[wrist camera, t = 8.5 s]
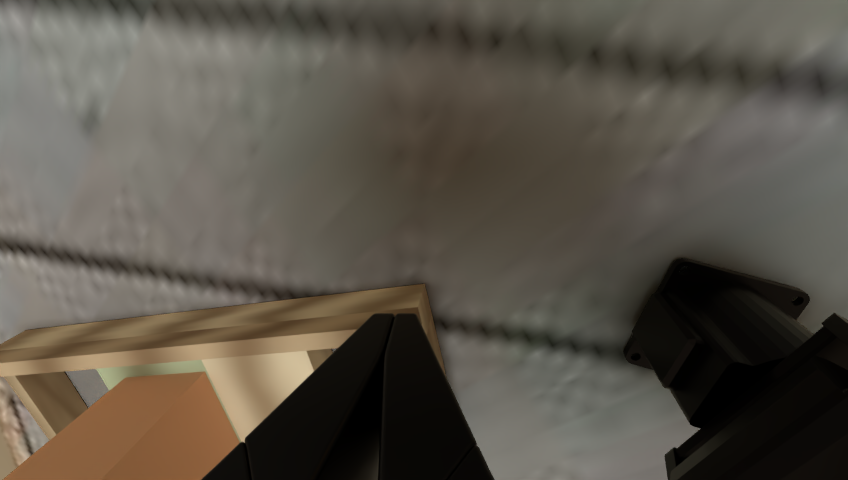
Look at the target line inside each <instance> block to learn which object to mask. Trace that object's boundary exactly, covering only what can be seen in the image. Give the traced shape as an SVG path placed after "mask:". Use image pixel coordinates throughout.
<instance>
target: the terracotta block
mask: <svg viewBox="0 0 848 480" xmlns="http://www.w3.org/2000/svg"><path fill="white" fill-rule="evenodd" d="M239 443H240V442H239V440H238V438H237V435H236V433H235V431H234V429H233V427H232V425H231V423H230V421H229V419H228V417H227V415H226V413H225V411H224V409H223V407H222V405H221V403H220V401H219V399H218V397H217V395H216V393H215V391H214V389H213V387H212V385H211V383H210V381H209V379H208V377H207V375H206V373H205V371H204V372H191V373H178V374H164V375H151V376H138V377H125V378H124V379H123V380H122V381H121V382H119V383H118V384H117V385H116V386H115V387H113V388H112V389H111V390H110V391H109V392H107V393H106V394H105V395H104V396H103V397H101V398H100V399H99V400H98V401H97V402H95V403H94V404H93V405H92V406H91V407H89V408H88V409H87V410H86V411H85V412H83V413H82V414H81V415H80V416H79V417H77V418H76V419H75V420H74V421H73V422H71V423H70V424H69V425H68V426H67V427H65V428H64V429H63V430H62V431H60V432H59V433H58V434H57V435H56V436H54V437H53V438H52V439H51V440H50V441H48V442H47V443H46V444H45V445H44V446H42V447H41V448H40V449H39V450H38V451H36V452H35V453H34V454H33V455H32V456H30V457H29V458H28V459H27V460H26V461H24V462H23V463H22V464H21V465H20V466H18V467H17V468H16V469H15V470H14V471H12V472H11V473H10V474H9V475H8V476H7V477H5V478H4V479H3V480H201V479H202V478H203V477H204V476H205V475H206V474H207V473H208V472H209V471H211V470H212V469H213V468H214V467H215V466H216V465H217V464H218V463H219V462H220V461H221V460H222V459H223V458H224V457H225V456H226V455H228V454H229V453H230V452H231V451H232V450H233V449H234V448H235V447H236V446H237V445H238V444H239Z"/></svg>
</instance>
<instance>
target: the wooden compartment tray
mask: <svg viewBox="0 0 848 480" xmlns="http://www.w3.org/2000/svg"><path fill="white" fill-rule="evenodd" d="M375 313H393V314H394V316H395V315H396V314H398V313H415V314H416V315H417V316H418V318H419V320H420V322H421V325H422V327H423V329H424V331H425V333H426V335H427V337H428V340H429V342H430V344H431V346H432V348H433V350H434V352H435V355H436V357H437V359H438V361H439V363H440V365H441V368H442V370H443V372H444V374H445V376H446V373H445V369H444V364H443V360H442V356H441V351H440V347H439V343H438V338H437V334H436V330H435V325H434V321H433V317H432V312H431V308H430V304H429V299H428V295H427V291H426V286H425V284H418V285H409V286H401V287H392V288H384V289H375V290H366V291H358V292H349V293H341V294H332V295H324V296H315V297H306V298H298V299H289V300H281V301H272V302H264V303H255V304H246V305H238V306H229V307H221V308H212V309H204V310H195V311H186V312H178V313H169V314H161V315H152V316H144V317H135V318H126V319H118V320H109V321H101V322H92V323H84V324H75V325H66V326H58V327H49V328H41V329H32V330H25V331H24V332H22V333H20V334H18V335H16V336H15V337H13V338H11V339H9V340H7V341H5V342H4V343H2V344H0V377H4V378H5V379H6V380H7V382H8V383H9V385H10V386H11V387H12V389H13V390H14V392H15V393H16V394H17V396H18V397H19V399H20V400H21V401H22V403H23V404H24V405H25V407H26V408H27V410H28V411H29V412H30V414H31V415H32V417H33V418H34V419H35V421H36V422H37V424H38V425H39V426H40V428H41V429H42V431H43V432H44V433H45V435H46V436H47V437H48V439H49V440H51V439H52V438H53V437H54V436H56V435H57V434H58V433H59V432H60V431H62V430H63V429H64V428H65V427H67V426H68V425H69V424H70V423H71V422H73V421H74V420H75V419H76V418H77V417H79V416H80V415H81V414H82V413H83V412H85V411H86V410H87V409H88V408H87V406H86V405H85V403H84V402H83V400H82V398H81V397H80V395H79V394H78V392H77V391H76V389H75V388H74V386H73V385H72V383H71V381H70V380H69V378H68V377H67V375H66V374H65V372H64V371H75V370H87V369H96V370H97V371H98V373H99V374H100V376H101V378H102V379H103V381H104V383H105V384H106V386H107V388H108V389H109V391H110V390H111V389H112V388H113V387H115V386H116V385H117V384H118V383H119V382H121V381H122V380H123V379H124V378H125V377H138V376H151V375H164V374H178V373H191V372H204V371H205V373H206V375H207V377H208V379H209V381H210V383H211V385H212V387H213V389H214V391H215V393H216V395H217V397H218V399H219V401H220V403H221V405H222V407H223V409H224V411H225V413H226V415H227V417H228V419H229V421H230V423H231V425H232V427H233V429H234V431H235V433H236V435H237V438H238V440H239V442H244V443H245V437H246V436H247V435H248V434H249V433H251V432H252V431H253V430H254V429H255V428H256V427H257V426H258V425H259V424H260V423H261V422H262V421H263V420H264V419H265V418H266V417H267V416H268V415H269V414H270V413H271V412H272V411H273V410H274V409H275V408H276V407H277V406H278V405H279V404H281V403H282V402H283V401H284V400H285V399H286V398H287V397H288V396H289V395H290V394H291V393H292V392H293V391H294V390H295V389H296V388H297V387H298V386H299V385H300V384H301V383H302V382H303V381H304V380H305V379H306V378H307V377H308V376H309V375H311V374H312V373H313V372H314V371H315V370H316V369H317V368H318V367H319V366H320V365H321V364H322V363H323V362H324V361H325V360H326V359H327V358H328V357H329V356H330V355H331V354H332V350H331V349H332V348H338V347H339V346H341V345H342V344H343V343H344V342H345V341H346V340H347V339H348V338H349V337H350V336H351V335H352V334H353V333H354V332H355V331H356V330H357V329H358V328H359V327H360V326H361V325H362V324H363V323H364V322H365V321H366V320H367V319H368V318H369V317H370V316H372V315H373V314H375ZM446 378H447V377H446Z"/></svg>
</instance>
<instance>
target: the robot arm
mask: <svg viewBox="0 0 848 480" xmlns="http://www.w3.org/2000/svg"><path fill="white" fill-rule="evenodd" d="M684 266H687V269H686V270H685V271H682V272H679V271H680V269H681V268H682V267H684ZM795 297H797V299H796V300H794V301H792V299H794V298H795ZM809 301H810V298H809V296H808V294H806V293H805V292H803V291H802V290H800V289H798V288H795V287H791V286H787V285H783V284H780V283H776V282H772V281H768V280H765V279H761V278H757V277H753V276H750V275H746V274H742V273H739V272H735V271H731V270H727V269H724V268H720V267H716V266H712V265H709V264H705V263H701V262H697V261H694V260H690V259H686V258H681V259H677V260H676V261H674V262H673V263H672V265H671V266H670V268H669V270H668V272H667V274H666V275H665V277H664V279H663V281H662V283H661V285H660V286H659V288H658V290H657V292H656V293H654V294H653V295H652V296H651V298H650V300H649V301H648V303H647V305H646V307H645V309H644V311H643V312H642V314H641V316H640V318H639V320H638V321H637V323H636V325H635V327H634V329H633V331H632V333H633V335H632V337H631V339H630V341H629V342H628V344H627V346H626V348H625V350H624V356H625V358H626V360H627V361H628V362H629V363H631V364H634V365H638V366H641V367H645V368H648V369H652V370H654V372H655V373H656V375H657V377H658V379H659V380H660V382H661V384H662V386H663V387H664V388H668V389H670V391H671V392H672V394H673V396H674V398H675V399H676V401H677V403H678V404H679V406H680V408H681V409H682V411H683V413H684V415H685V416H686V418H687V420H688V421H689V423H690V425H692V426H694V427H698V428H701V429H700V430H699V431H697V432H696V433H695V434H694V435H693V436H691V437H690V438H689V439H688V440H687V441H685V442H684V443H683V444H682V445H681V446H679V447H678V448H672V449H671V450H670V451H669V452H668V453H666V454H665V462H666V469H667V476H668V480H848V320H846V319H845V318H843V317H841V316H839V315H837V314H836V313H833V314H832V315H831V316H830V317H829V318H827V319H826V320H825V321H824V322H823V323H822V324H823V325H824V326H823V327H822V328H821V329H820V330H819V331H817V332H816V333H815V334H813V333H811V332H810V331H809V330H807V329H806V328H805V327H804V326H802V325H801V324H800V323H799V322H797V321H796V319H797V318H798V317H799V315H800V314H801V313H802V311H803V310H804V309H805V307H806V306H807V305H808V303H809ZM634 353H638V354H637V355H635V356H631V355H632V354H634ZM201 480H494V478H493V476H492V474H491V472H490V470H489V468H488V466H487V464H486V461H485V459H484V457H483V455H482V453H481V451H480V449H479V447H478V446H477V443H476V441H475V438H474V436H473V434H472V432H471V430H470V428H469V426H468V423H467V421H466V419H465V417H464V415H463V413H462V410H461V408H460V406H459V404H458V402H457V400H456V398H455V395H454V393H453V391H452V389H451V387H450V385H449V383H448V380H447V378H446V376H445V374H444V372H443V370H442V368H441V365H440V363H439V361H438V359H437V357H436V355H435V352H434V350H433V348H432V346H431V344H430V342H429V340H428V337H427V335H426V333H425V331H424V329H423V327H422V325H421V322H420V320H419V318H418V316H417V315H416V314H415V313H398V314H396V315H395V316H394V314H393V313H375V314H373V315H372V316H370V317H369V318H368V319H367V320H366V321H365V322H364V323H363V324H362V325H361V326H360V327H359V328H358V329H357V330H356V331H355V332H354V333H353V334H352V335H351V336H350V337H349V338H348V339H347V340H346V341H345V342H344V343H343V344H342V345H341V346H339V347H338V348H337V349H336V350H335V351H334V352H333V353H332V354H331V355H330V356H329V357H328V358H327V359H326V360H325V361H324V362H323V363H322V364H321V365H320V366H319V367H318V368H317V369H316V370H315V371H314V372H313V373H312V374H311V375H309V376H308V377H307V378H306V379H305V380H304V381H303V382H302V383H301V384H300V385H299V386H298V387H297V388H296V389H295V390H294V391H293V392H292V393H291V394H290V395H289V396H288V397H287V398H286V399H285V400H284V401H283V402H282V403H281V404H279V405H278V406H277V407H276V408H275V409H274V410H273V411H272V412H271V413H270V414H269V415H268V416H267V417H266V418H265V419H264V420H263V421H262V422H261V423H260V424H259V425H258V426H257V427H256V428H255V429H254V430H253V431H252V432H251V433H249V434H248V435H247V436H246V437H245V443H244V442H240V443H239V444H238V445H237V446H236V447H235V448H234V449H233V450H232V451H231V452H230V453H229V454H228V455H226V456H225V457H224V458H223V459H222V460H221V461H220V462H219V463H218V464H217V465H216V466H215V467H214V468H213V469H212V470H211V471H209V472H208V473H207V474H206V475H205V476H204V477H203V478H202V479H201Z"/></svg>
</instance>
